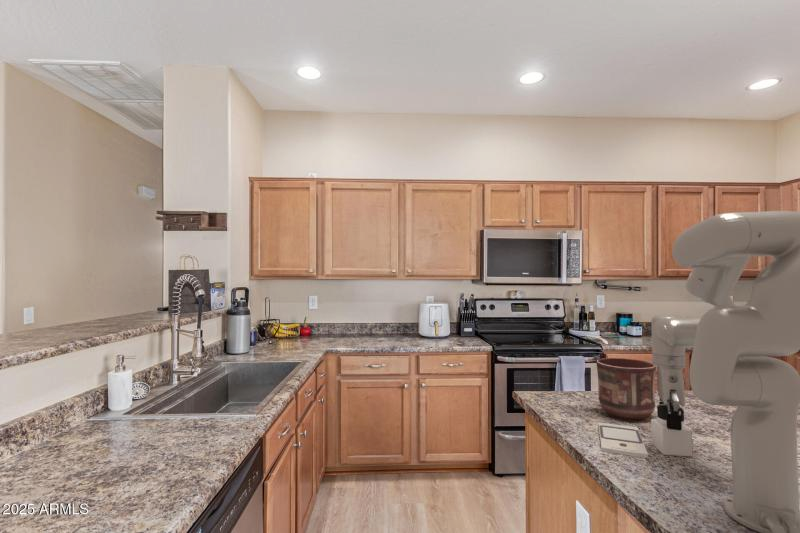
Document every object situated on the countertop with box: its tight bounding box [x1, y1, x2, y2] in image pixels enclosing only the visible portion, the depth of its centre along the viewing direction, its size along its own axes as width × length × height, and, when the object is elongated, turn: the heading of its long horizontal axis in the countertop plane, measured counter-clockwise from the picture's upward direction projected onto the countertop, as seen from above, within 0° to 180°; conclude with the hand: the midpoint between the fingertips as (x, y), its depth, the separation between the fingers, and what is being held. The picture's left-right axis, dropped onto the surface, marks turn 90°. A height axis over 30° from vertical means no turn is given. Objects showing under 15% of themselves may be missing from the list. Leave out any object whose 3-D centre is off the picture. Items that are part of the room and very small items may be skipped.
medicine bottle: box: [650, 404, 694, 457], centre depth 107 cm, size 7×7×12 cm
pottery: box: [596, 357, 657, 422], centre depth 134 cm, size 18×18×18 cm
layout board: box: [597, 422, 649, 459], centre depth 113 cm, size 20×11×1 cm, turn 156°
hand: (670, 422), depth 107 cm, fingers open, 9 cm apart
